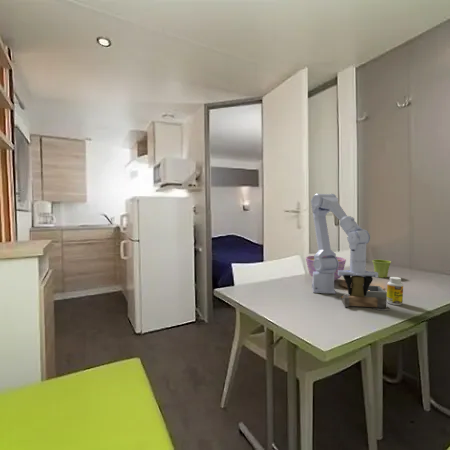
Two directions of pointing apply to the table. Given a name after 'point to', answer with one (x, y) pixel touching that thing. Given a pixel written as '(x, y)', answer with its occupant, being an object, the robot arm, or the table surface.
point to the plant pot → (381, 267)
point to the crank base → (382, 309)
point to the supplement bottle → (395, 291)
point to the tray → (376, 292)
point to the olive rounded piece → (357, 286)
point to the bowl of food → (311, 258)
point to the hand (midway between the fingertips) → (357, 294)
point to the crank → (364, 301)
